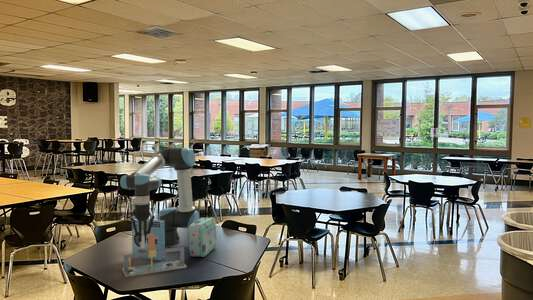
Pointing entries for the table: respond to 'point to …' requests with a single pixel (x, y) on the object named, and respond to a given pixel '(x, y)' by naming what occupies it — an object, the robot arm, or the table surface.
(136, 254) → the clear acrylic panel
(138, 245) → the gum box
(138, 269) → the plate
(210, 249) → the lunch box
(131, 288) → the table surface
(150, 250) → the cursor
